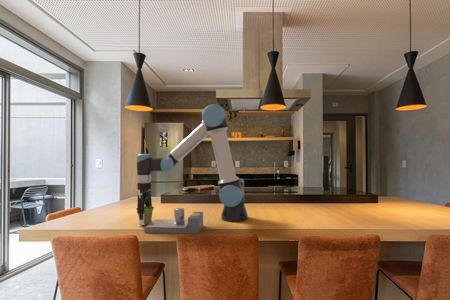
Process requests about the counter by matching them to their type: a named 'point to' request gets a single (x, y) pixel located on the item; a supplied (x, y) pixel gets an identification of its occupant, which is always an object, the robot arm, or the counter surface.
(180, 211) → the spacer
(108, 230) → the counter surface
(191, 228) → the scale
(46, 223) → the counter surface
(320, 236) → the counter surface
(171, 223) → the pan
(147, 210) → the plant pot
